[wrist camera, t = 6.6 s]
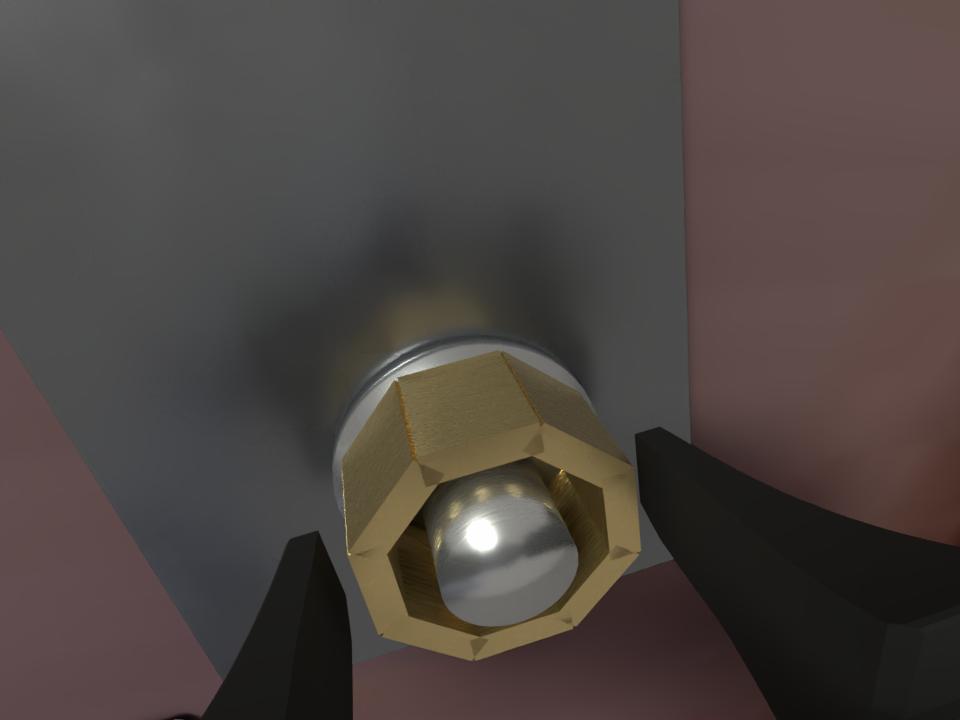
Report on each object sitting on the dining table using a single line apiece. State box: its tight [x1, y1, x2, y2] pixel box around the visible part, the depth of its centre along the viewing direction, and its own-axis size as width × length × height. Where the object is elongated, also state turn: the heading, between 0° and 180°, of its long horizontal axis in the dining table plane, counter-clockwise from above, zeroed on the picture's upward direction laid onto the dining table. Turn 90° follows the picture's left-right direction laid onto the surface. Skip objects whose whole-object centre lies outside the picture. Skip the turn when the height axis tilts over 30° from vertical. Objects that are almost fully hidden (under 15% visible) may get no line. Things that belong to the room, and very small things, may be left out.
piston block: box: [0, 0, 691, 681], centre depth 13 cm, size 20×14×5 cm
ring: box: [341, 350, 641, 661], centre depth 14 cm, size 6×6×3 cm
